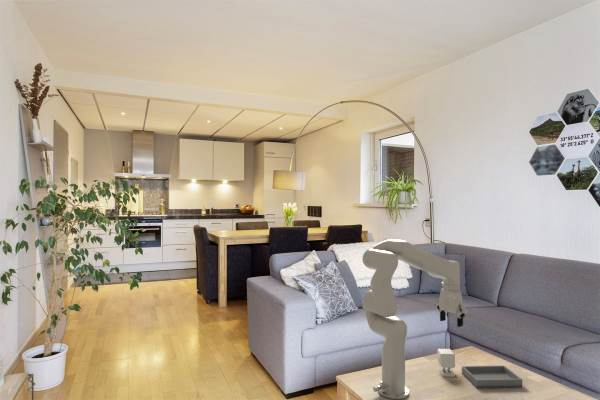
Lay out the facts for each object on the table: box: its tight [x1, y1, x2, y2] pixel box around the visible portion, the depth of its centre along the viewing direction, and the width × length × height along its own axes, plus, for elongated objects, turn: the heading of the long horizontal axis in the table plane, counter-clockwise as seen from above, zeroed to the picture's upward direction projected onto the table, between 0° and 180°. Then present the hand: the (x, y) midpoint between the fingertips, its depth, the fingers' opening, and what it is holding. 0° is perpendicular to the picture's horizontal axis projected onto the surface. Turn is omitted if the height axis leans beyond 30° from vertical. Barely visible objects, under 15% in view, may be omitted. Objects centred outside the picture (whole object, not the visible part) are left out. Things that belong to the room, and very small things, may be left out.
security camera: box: [437, 348, 456, 377], centre depth 180 cm, size 6×7×10 cm
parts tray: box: [461, 365, 523, 389], centre depth 172 cm, size 20×14×4 cm
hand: (451, 323), depth 181 cm, fingers open, 9 cm apart
